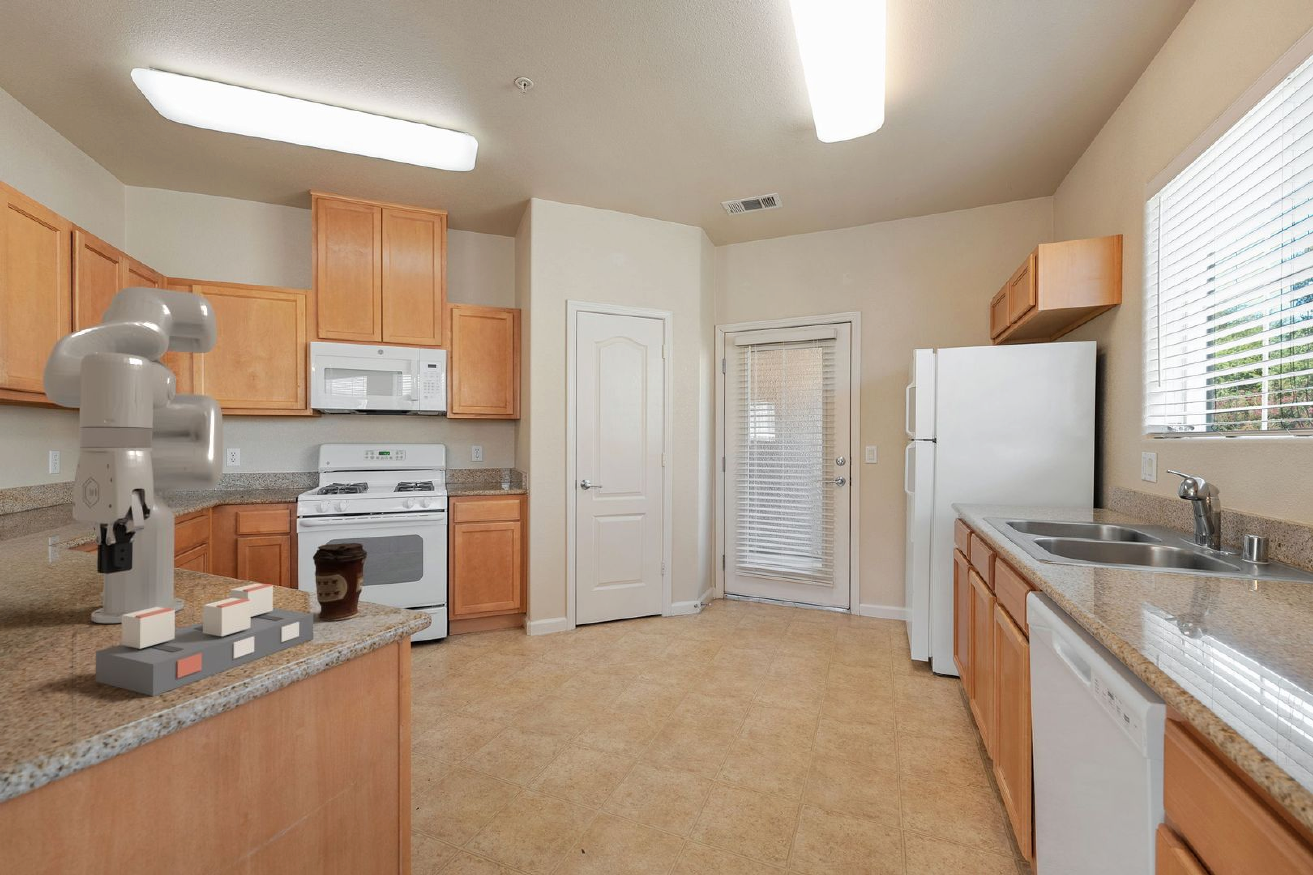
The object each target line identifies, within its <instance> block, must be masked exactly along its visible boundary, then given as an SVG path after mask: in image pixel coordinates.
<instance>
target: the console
mask: <svg viewBox="0 0 1313 875" xmlns="http://www.w3.org/2000/svg"><path fill="white" fill-rule="evenodd" d="M313 639H314V613H308V612H303V611H295V610H289V609H284V608H279V607H273V611H270V612H266V613H263V614H259V615H256V616H252V617H251V622H250V628H248V629H244V630H241V631H238V632H235V633H231V634H228V635H225V636H217V635H211V634H206V633H203V621H201V622H198V623H194V624H191V625H187V626H184V627H178V628H177V629H175V639H172V640H169V641H165V642H162V643H158V644H155V645H151V646H148V647H144V648H141V649H139V648H134V647H130V646H125V645H122V643H120V644H117V645H114V646H111V647H106V648H103V649H100V650H96V651H95V682H96V683H100V684H104V685H109V686H111V687H116V688H119V689H120V688H121V689H124V690H127V691H130V692H135V693H139V694H143V695H147V696H150V697H155V696H158V695H161V694H163V693H167V692H169V691H171V690H175V689H177V688H180V687H183V686H186V685H188V684H192V683H194V682H197V681H200V680H203V679H206V678H207V677H211V676H213V675H216V674H218V673H222V672H224V671H227V670H230V669H233V668H235V667H239V666H242V665H244V664H247V663H249V662H252V661H256V660H258V659H261V658H263V657H267V656H269V655H272V654H275V653H277V652H279V651H280V652H281V651H282V650H283V651H284V650H286V649H289V648H291V647H294V646H297V645H300V644H302V643H305V642H309V641H311V640H313Z"/></svg>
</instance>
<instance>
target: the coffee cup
mask: <svg viewBox="0 0 1313 875" xmlns="http://www.w3.org/2000/svg"><path fill="white" fill-rule="evenodd" d="M367 556H368V552H367V551H366V550H364V545H363V544H362V543H359V542H357V543H356V542H348V543H347V542H343V543H333V544H332V543H331V544H330V543H328V544H322V545H320V546H318V547H317V550H316V552H315V553H314V555H313V556H312V560H313V564H314V566H315V571H314V575H315V587H316V598H317V602H318V604H319V605H320V612H319V614H318V618H319V619H320V620H322V621H323V620H324V621H342V620H349V619H352V618H356V617H358V616H359V615H360V611H359V610H358V604H359V600H360V595H361V593H362V590H363V589H362V587H363V580H364V565H365V561H366V559H367Z"/></svg>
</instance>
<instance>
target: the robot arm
mask: <svg viewBox="0 0 1313 875" xmlns="http://www.w3.org/2000/svg"><path fill="white" fill-rule="evenodd" d="M217 339H218V330H217V318H216V313H215V311H214V307H213V305H212V304H211V302H210V301H209V300H208V299H206V298H205V297H204V296H202V295H200V294H198V293H194V292H189V291H188V292H187V291H179V290H171V289H163V288H157V287H156V288H155V287H146V286H129V287H125V288H122V289H120V290H118V291H117V292H116V293H115V294H114V295H113V297H112V299H111V300H110V304H109V306H108V308H106V309H105V310H104V311H103V313H102V316H101V323H98V324H95V325H92V326H88V327H85V328H82V329H79V330H75V331H73V332H70V333H68V334H66V335H64V336H63V337H61V338H60V339H59V340H58V341H57V342H56V343H55V344H54V346H53V348H52V349H51V351H50V354H49V356H48V359H47V360H46V364H45V366H44V371H43V373H42V374H43V375H42V387H43V391H44V394H45V395H46V397H47V398H48V399H49V401H51V402H53V403H54V404H55V405H58V406H61V407H65V408H75V409H76V408H78V409H79V430H78V431H79V436H78V437H79V440H78V443H79V444H78V445H79V446H78V447H79V448H78V452H79V456H78V460H77V465H76V470H75V475H74V484H73V486H74V487H73V494H72V495H73V499H72V510H71V511H72V518H73V519H74V520H75V521H77V522H80V523H87V527H88V528H89V529H91V530H93V531H94V535H95V543H96V545H97V560H96V561H97V562H96V564H97V570H96V571H97V573H98V574H103V591H102V592H101V593H100V594H99V596H100V599H102V600H103V606H102V607H100V608H98V609H96V610H94V611H92V613H90V614H91V615H90V620H91V621H92V622H94V623H98V624H122V615H124V614H129V613H133V612H137V611H141V610H146V609H150V608H154V607H160V608H172V609H174V610H175V613H176V612H178V611H180V610H182V609H184V607H185V600H184V599H182V598H180V597H175V596H174V594H175V592H174V591H175V590H174V586H175V515H174V513H173V511H172V508H170V507H169V506H168V505H167V503H165V502H164V501H162V500H161V499H160V498H159V497H158V496H157V495H156V494H158V493H172V492H194V491H205V490H207V491H208V490H210V489H213V488H216V487H217V486H218V485H219V483H220V482H221V480H222V476H223V466H224V465H223V464H224V457H223V456H224V454H223V453H224V452H223V450H224V449H223V448H224V445H223V442H224V441H223V440H224V438H223V437H224V433H223V432H224V431H223V430H224V429H223V428H224V426H223V423H224V422H223V413H222V408H221V406H220V403H219V402H218V401H217V399H215V398H214V397H211V396H208V395H205V394H204V395H203V394H195V393H193V394H192V393H178V392H177V377H176V375H175V373H174V372H173V371H172V369H170V368H169V367H168V366H167V364H166V363H164V362H163V361H162V360H161V359H160V358H161V357H163V355H165V353H166V352H176V353H177V352H178V353H188V354H189V353H191V354H206V353H209V352H211V351H212V350H213V349H214V348H215V346H216V343H217ZM176 392H177V393H176Z"/></svg>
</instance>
